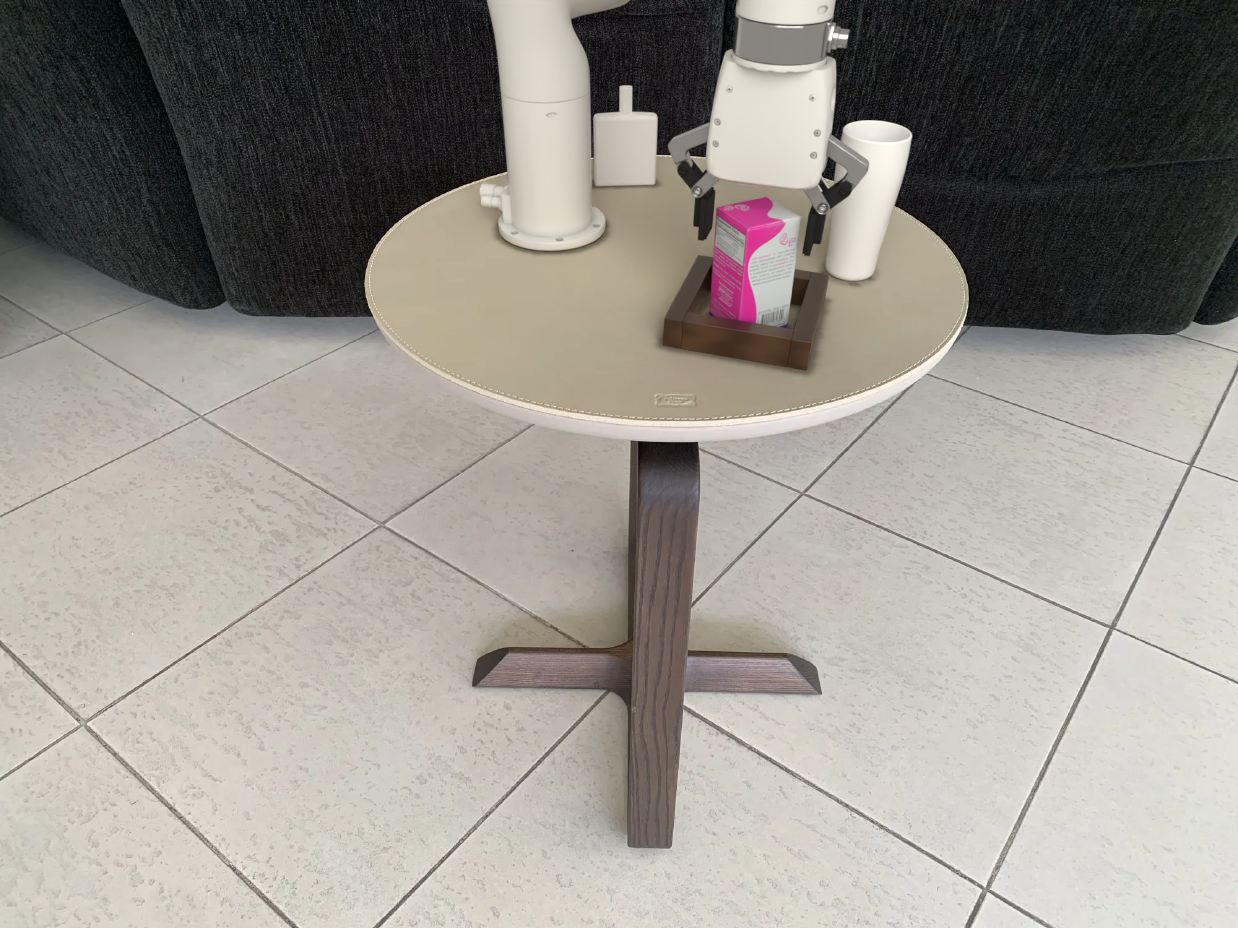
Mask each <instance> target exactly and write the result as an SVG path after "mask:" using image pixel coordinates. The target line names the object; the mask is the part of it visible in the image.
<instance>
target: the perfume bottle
mask: <svg viewBox="0 0 1238 928" xmlns="http://www.w3.org/2000/svg"><path fill="white" fill-rule="evenodd" d="M618 91H619V93H618V94H619V97H618V99H619V100H618V101H619V102H618V103H619V105H618V107H619V108H618V111H613V112H600V113H597V112H596V113H595V114H594V116H593V119H592V120H593V121H592V122H593V182H594V185H595V187H631V186H632V187H633V186H654V185H655V184H656V181H657V180H656V178H657V154H658V153H657V152H658V122H659V118H658V115H657V113H656V112H650V111H633V85H628V84H627V85H625V84H623V85H620V86H619V89H618Z"/></svg>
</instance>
